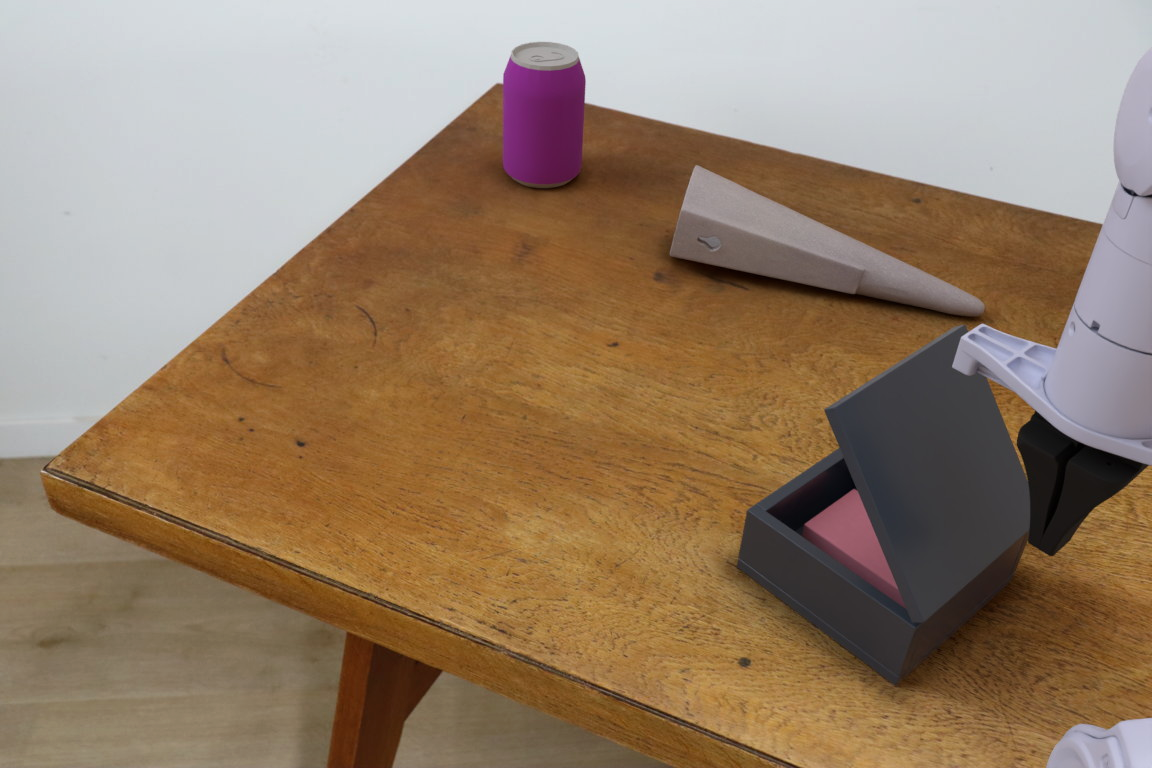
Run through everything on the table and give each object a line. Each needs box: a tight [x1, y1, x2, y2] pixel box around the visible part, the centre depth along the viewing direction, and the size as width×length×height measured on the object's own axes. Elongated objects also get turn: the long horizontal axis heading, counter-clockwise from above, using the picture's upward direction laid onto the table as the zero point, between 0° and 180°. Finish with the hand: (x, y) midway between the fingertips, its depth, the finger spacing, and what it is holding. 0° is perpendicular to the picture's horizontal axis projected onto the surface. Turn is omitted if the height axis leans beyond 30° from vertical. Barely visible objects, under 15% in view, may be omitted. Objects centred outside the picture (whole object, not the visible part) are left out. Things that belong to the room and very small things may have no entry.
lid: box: [823, 324, 1030, 623], centre depth 60 cm, size 12×12×1 cm
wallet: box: [802, 489, 906, 609], centre depth 66 cm, size 8×5×2 cm, turn 42°
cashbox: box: [736, 447, 1029, 687], centre depth 66 cm, size 12×12×5 cm
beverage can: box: [502, 41, 587, 189], centre depth 105 cm, size 8×8×12 cm
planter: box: [669, 164, 986, 318], centre depth 94 cm, size 8×9×26 cm
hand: (1049, 540), depth 57 cm, fingers closed
